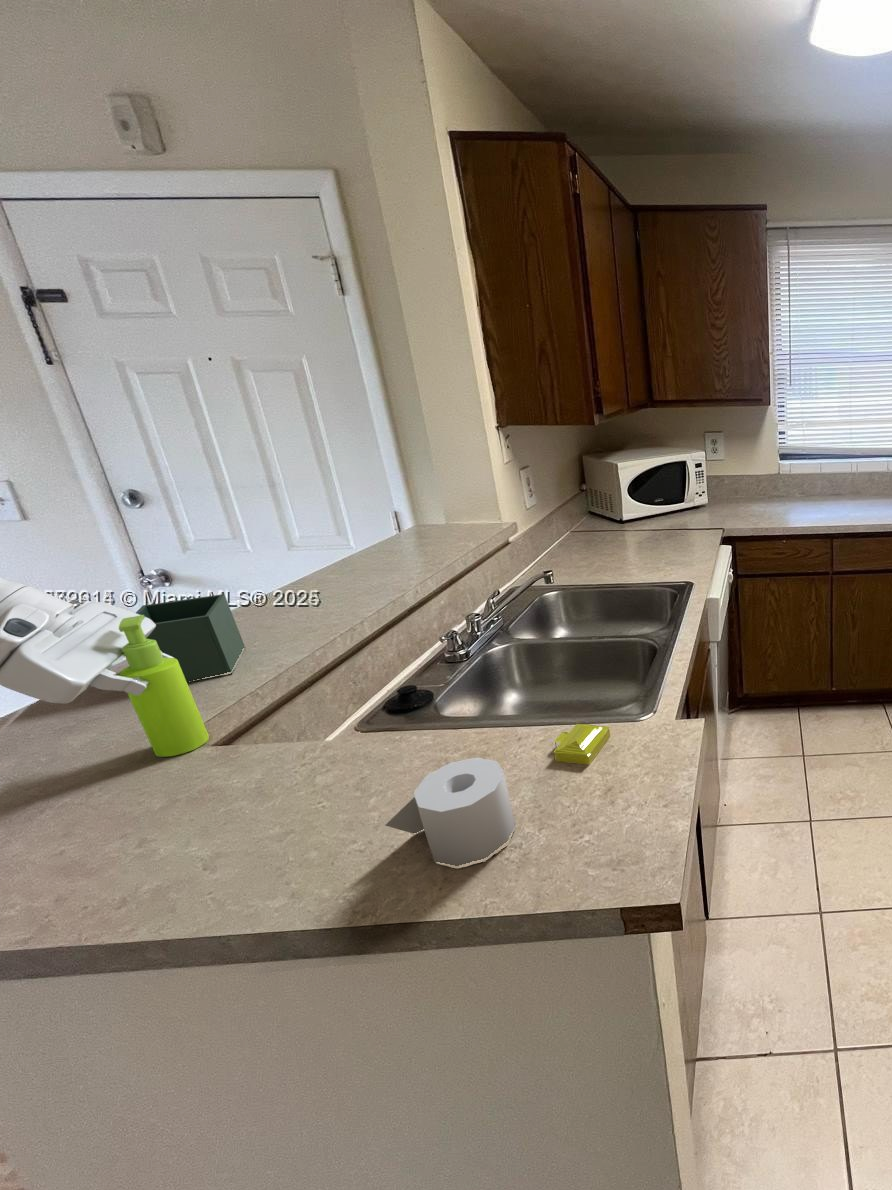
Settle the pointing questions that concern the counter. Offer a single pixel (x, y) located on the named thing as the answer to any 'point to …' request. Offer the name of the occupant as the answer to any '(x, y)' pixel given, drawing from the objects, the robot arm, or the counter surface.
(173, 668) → the soap dispenser
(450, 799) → the toilet tissue
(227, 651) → the trash bin
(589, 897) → the counter surface
